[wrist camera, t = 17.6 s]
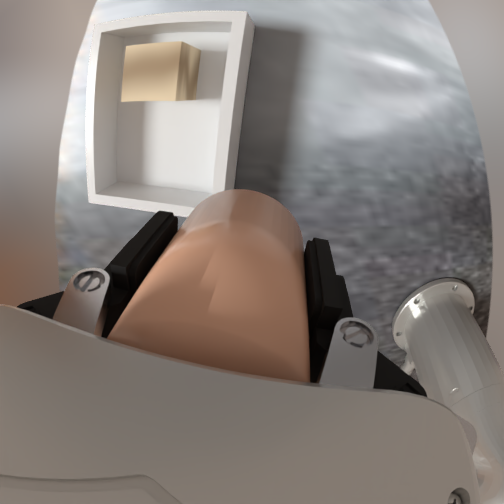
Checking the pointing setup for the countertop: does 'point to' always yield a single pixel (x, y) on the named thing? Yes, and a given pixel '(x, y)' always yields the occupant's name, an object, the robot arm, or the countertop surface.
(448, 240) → the countertop surface
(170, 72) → the wood cube
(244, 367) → the terracotta cylinder
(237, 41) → the tote
